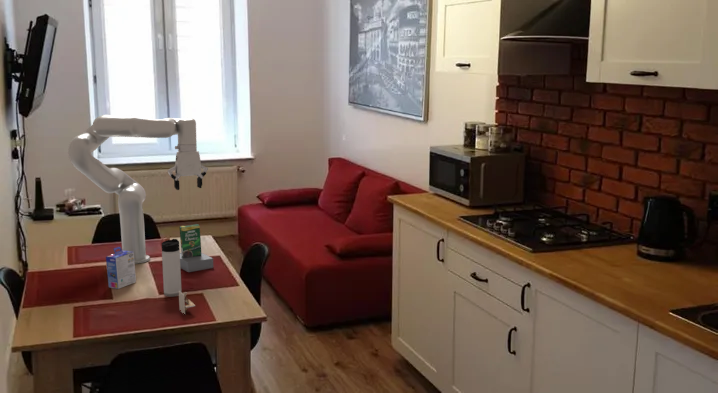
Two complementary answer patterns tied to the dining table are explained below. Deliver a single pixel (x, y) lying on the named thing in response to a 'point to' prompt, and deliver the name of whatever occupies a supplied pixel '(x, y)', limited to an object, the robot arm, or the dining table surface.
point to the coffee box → (190, 241)
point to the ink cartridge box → (120, 268)
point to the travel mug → (171, 267)
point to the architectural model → (182, 302)
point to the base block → (196, 263)
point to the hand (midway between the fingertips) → (188, 188)
